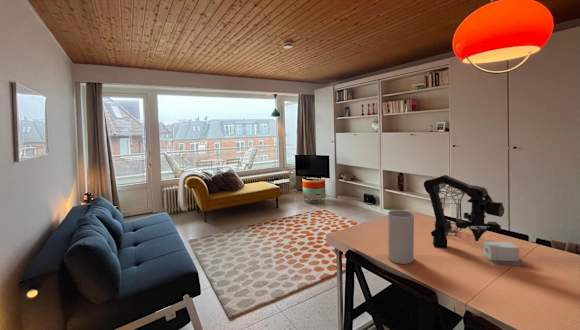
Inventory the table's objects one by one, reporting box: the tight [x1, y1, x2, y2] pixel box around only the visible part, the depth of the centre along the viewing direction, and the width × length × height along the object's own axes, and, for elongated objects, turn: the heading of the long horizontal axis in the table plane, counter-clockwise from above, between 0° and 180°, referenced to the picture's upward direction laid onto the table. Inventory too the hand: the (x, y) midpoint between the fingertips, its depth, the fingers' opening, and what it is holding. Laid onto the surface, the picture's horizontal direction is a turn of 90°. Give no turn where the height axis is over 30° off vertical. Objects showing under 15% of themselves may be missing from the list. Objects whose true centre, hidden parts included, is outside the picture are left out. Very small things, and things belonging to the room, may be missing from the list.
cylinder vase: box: [387, 209, 415, 265], centre depth 144 cm, size 12×12×25 cm
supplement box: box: [483, 241, 520, 261], centre depth 140 cm, size 7×7×13 cm
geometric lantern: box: [439, 183, 466, 237], centre depth 174 cm, size 16×16×35 cm
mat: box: [491, 258, 528, 268], centre depth 139 cm, size 13×11×1 cm
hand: (476, 240), depth 142 cm, fingers closed
